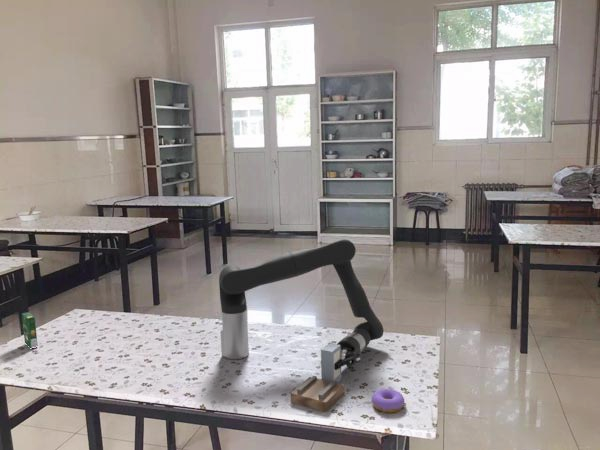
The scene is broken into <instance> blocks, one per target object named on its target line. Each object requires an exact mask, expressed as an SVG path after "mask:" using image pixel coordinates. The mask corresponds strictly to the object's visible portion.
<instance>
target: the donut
mask: <svg viewBox="0 0 600 450" xmlns="http://www.w3.org/2000/svg"><path fill="white" fill-rule="evenodd" d="M371 402H372V403H371V404H372V405H373V407H374V408H375V409H377V410H379V411H380V412H384V413H396V412H399V411H400V410H402V409H403V407H404V406H405V398H404V396H403V395H402V393H401V392H399V391H397V390H396V389H392V388H382V389H378V390H376V391H375V392H374V393H373V394H372V397H371Z"/></svg>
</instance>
